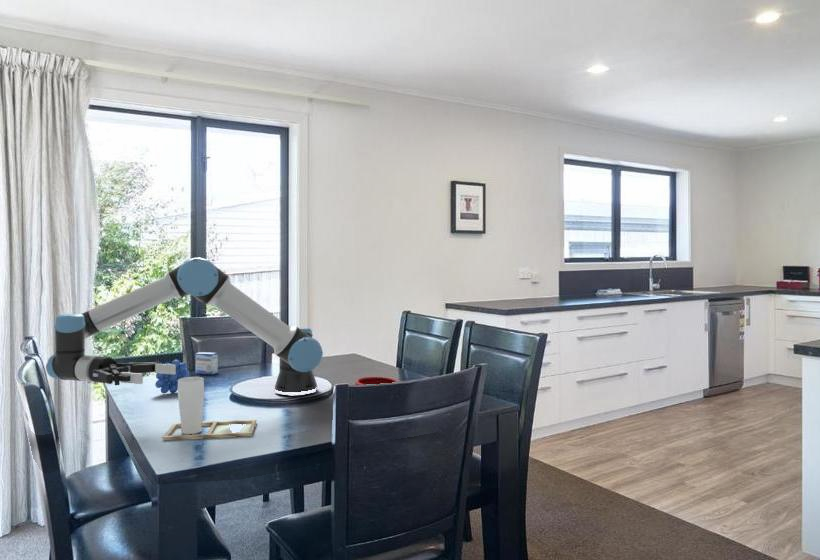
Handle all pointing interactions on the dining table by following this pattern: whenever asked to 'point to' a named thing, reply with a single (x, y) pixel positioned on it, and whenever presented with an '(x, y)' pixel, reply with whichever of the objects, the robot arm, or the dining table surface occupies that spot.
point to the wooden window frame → (215, 430)
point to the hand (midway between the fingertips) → (159, 374)
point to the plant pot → (374, 380)
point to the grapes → (172, 378)
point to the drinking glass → (191, 404)
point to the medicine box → (206, 363)
